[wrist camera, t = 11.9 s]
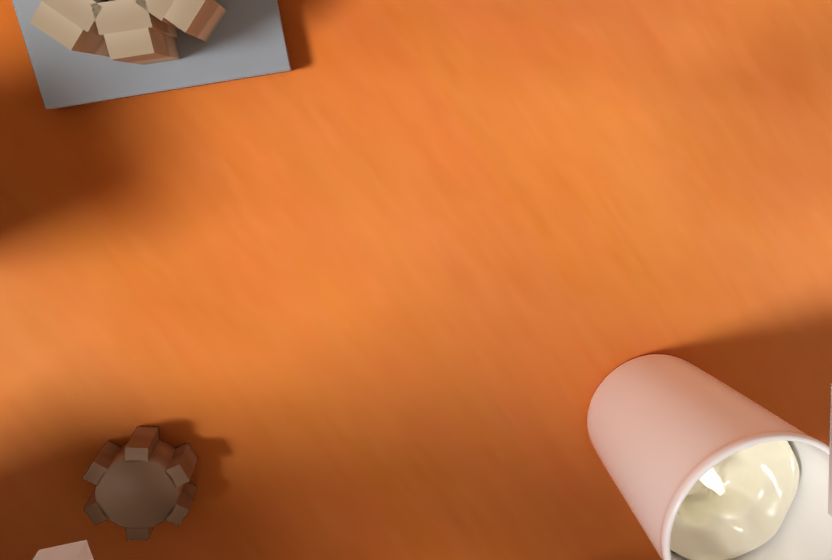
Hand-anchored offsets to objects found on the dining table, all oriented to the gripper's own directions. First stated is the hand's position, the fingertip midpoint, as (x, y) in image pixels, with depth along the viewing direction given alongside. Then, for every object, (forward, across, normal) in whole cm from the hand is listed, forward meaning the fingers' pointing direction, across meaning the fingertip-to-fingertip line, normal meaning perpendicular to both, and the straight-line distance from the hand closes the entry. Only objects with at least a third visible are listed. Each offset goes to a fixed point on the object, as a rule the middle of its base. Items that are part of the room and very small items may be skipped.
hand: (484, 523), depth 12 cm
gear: (+27, -16, -12) cm, 33 cm away
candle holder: (+27, +15, -15) cm, 34 cm away
